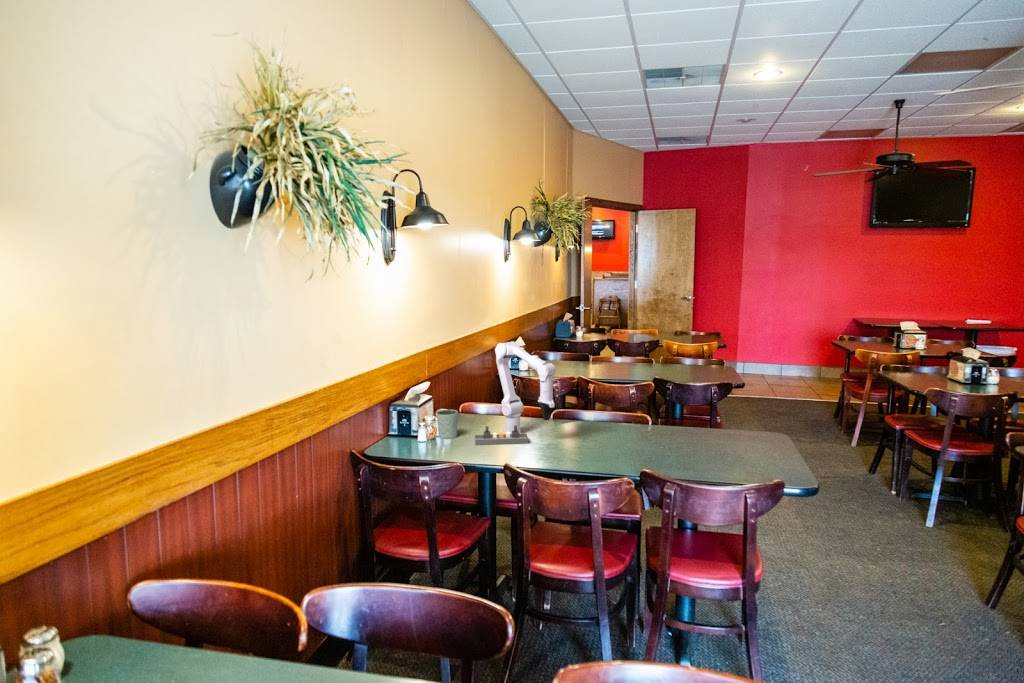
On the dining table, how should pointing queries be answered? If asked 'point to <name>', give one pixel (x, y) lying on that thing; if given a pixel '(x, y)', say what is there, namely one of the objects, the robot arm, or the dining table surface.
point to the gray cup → (447, 423)
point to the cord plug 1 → (487, 432)
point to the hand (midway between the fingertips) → (546, 419)
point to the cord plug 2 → (515, 432)
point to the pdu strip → (501, 440)
